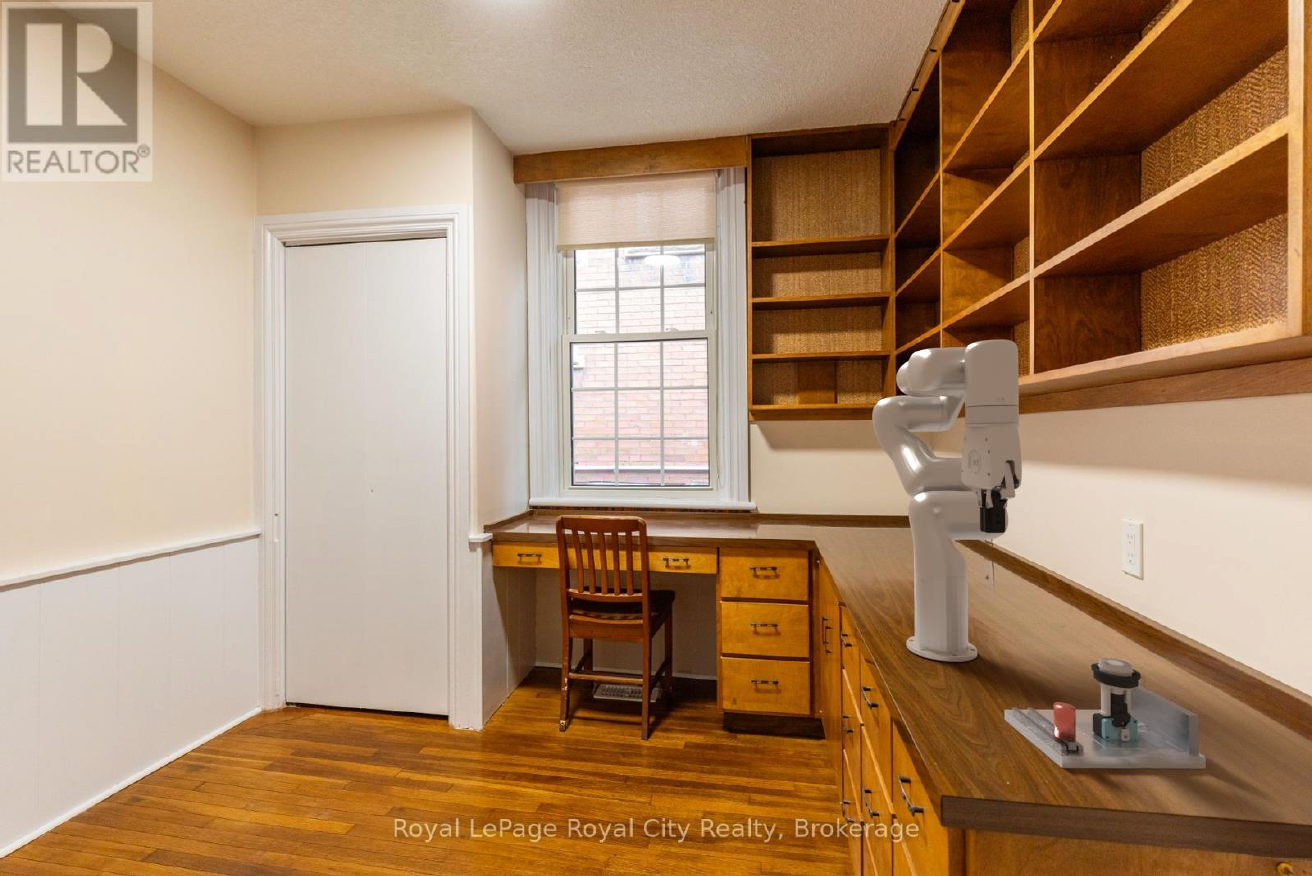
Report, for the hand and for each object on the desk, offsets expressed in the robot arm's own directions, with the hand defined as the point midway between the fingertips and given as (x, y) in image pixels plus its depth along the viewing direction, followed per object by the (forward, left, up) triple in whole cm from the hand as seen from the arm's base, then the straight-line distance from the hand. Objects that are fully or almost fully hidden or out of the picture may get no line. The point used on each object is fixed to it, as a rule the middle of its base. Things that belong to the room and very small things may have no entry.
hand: (992, 532), depth 95 cm
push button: (+14, +9, -26) cm, 31 cm away
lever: (+17, 0, -25) cm, 30 cm away
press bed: (+13, +7, -27) cm, 31 cm away
